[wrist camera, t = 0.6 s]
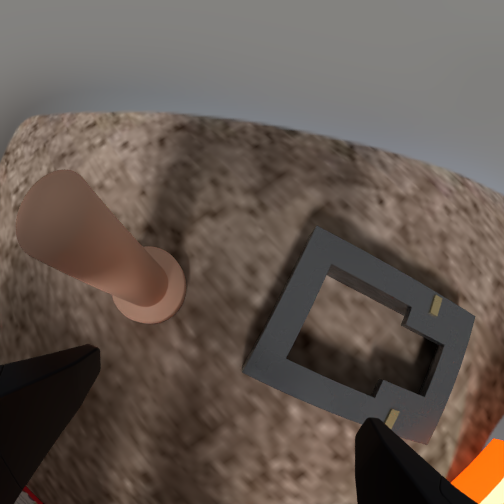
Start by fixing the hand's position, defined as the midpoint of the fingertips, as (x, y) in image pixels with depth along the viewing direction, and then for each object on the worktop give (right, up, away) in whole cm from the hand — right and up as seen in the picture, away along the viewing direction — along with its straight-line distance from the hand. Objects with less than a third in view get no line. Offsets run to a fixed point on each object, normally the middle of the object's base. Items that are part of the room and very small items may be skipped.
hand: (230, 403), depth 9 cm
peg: (-8, +2, +15) cm, 17 cm away
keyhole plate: (+11, -3, +15) cm, 18 cm away
